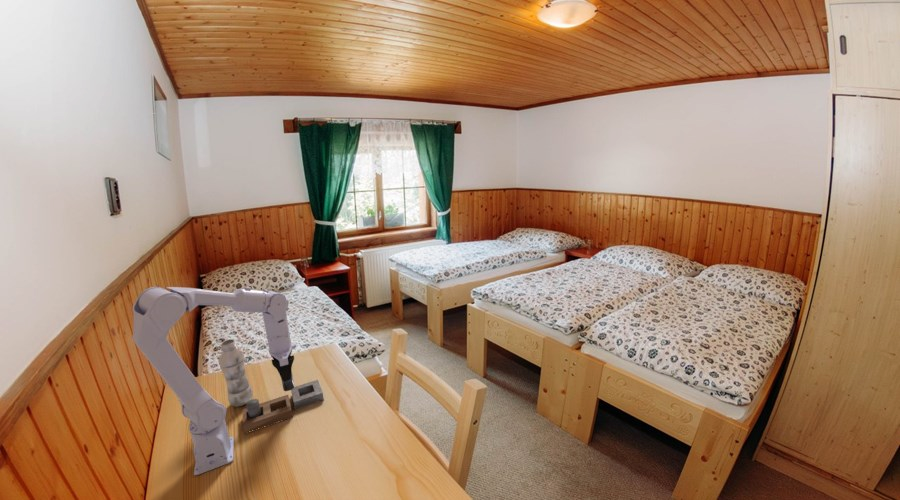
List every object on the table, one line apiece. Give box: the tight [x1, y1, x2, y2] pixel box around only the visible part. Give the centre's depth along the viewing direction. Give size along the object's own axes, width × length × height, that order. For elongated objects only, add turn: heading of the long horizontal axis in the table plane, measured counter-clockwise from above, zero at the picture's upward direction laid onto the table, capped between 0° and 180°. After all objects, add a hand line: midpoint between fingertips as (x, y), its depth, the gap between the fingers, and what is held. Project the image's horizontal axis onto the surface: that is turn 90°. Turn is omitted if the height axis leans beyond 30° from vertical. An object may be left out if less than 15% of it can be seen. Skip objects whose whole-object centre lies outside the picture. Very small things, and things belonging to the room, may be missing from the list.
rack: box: [242, 394, 294, 434], centre depth 105 cm, size 8×12×6 cm, turn 119°
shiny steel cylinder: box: [280, 369, 295, 392], centre depth 107 cm, size 3×3×9 cm
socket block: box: [290, 379, 324, 411], centre depth 113 cm, size 8×8×2 cm
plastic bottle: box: [218, 339, 253, 408], centre depth 111 cm, size 6×7×20 cm
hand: (286, 376), depth 108 cm, fingers closed on shiny steel cylinder, 3 cm apart
